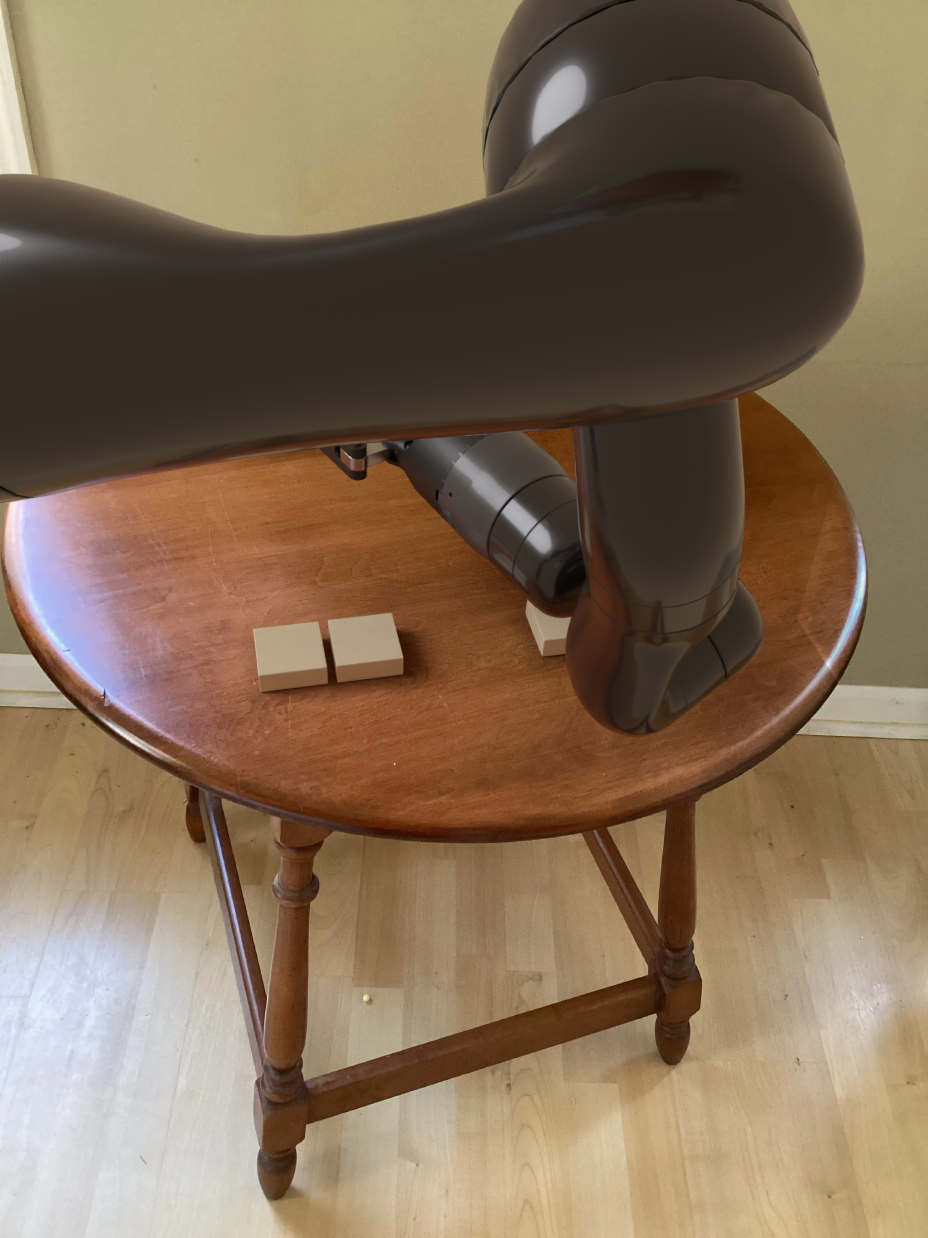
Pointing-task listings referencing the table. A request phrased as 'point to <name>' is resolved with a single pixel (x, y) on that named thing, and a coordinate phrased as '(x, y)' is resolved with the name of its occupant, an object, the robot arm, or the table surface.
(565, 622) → the near word
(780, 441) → the table surface
